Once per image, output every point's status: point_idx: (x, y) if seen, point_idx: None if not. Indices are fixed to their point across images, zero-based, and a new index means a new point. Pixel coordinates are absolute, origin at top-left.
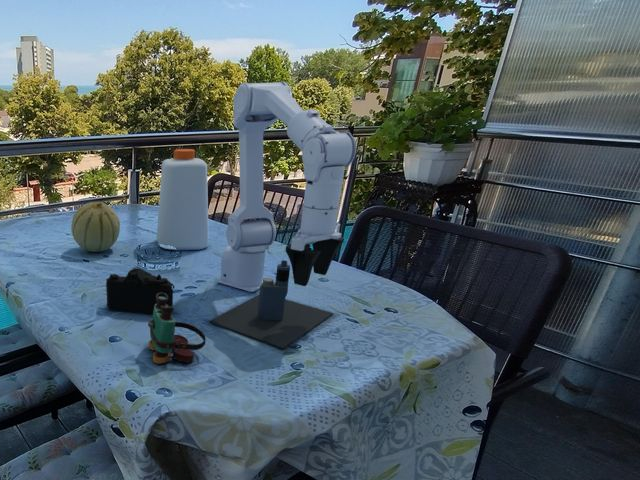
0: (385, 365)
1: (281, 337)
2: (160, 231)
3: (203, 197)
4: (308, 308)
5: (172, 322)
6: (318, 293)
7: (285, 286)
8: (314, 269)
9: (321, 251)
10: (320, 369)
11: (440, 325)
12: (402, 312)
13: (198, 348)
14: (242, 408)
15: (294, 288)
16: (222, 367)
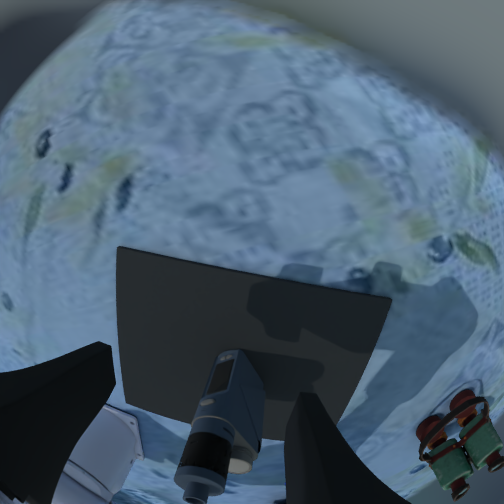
0: (338, 73)
1: (342, 322)
2: None
3: None
4: (129, 308)
5: (501, 442)
6: (48, 301)
7: (224, 422)
8: (108, 393)
9: (50, 440)
10: (434, 201)
11: (75, 51)
12: (44, 122)
13: (482, 397)
14: None
15: (60, 348)
16: (472, 352)
